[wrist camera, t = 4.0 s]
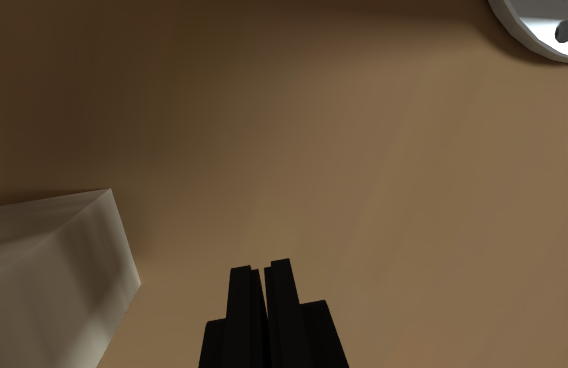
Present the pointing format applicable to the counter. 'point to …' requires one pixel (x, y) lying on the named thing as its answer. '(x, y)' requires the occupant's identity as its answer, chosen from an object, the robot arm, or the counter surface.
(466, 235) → the counter surface
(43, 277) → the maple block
